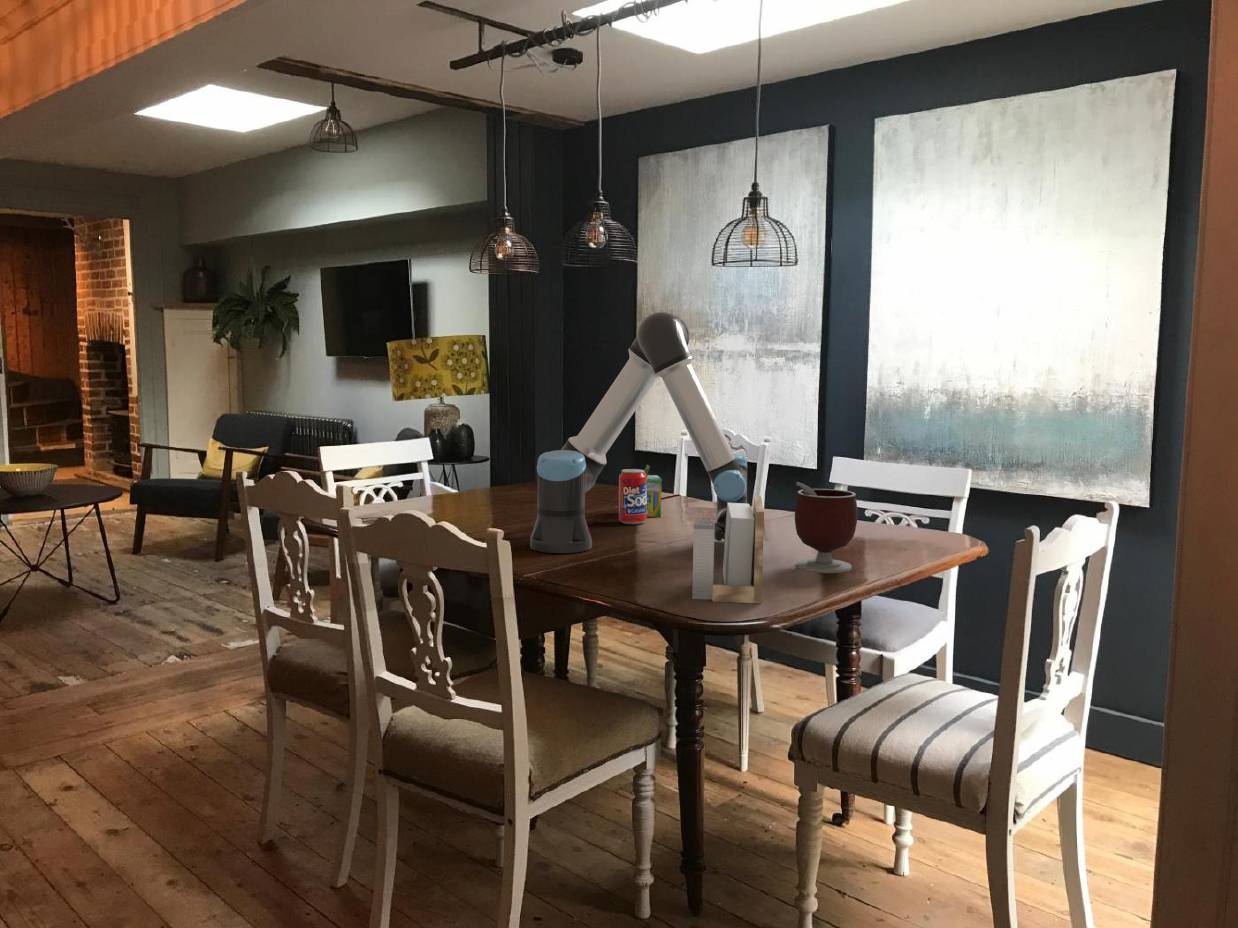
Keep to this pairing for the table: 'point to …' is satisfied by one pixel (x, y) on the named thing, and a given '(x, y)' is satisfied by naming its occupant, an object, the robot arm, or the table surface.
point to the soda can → (632, 496)
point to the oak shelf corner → (755, 591)
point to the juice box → (653, 494)
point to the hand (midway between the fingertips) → (733, 541)
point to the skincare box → (738, 545)
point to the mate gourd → (825, 526)
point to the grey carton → (703, 558)
